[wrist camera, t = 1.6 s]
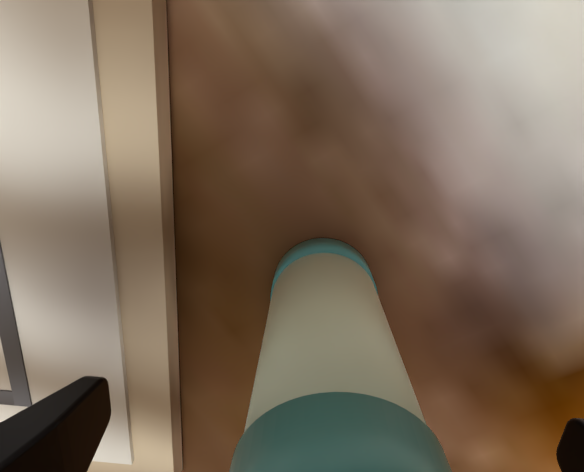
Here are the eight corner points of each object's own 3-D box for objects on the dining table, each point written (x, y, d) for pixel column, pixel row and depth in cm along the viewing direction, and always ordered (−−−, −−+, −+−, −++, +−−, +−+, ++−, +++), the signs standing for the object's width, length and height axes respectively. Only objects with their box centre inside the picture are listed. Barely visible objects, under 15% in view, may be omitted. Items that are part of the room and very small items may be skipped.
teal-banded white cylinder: (366, 331, 13) (475, 751, 4) (269, 323, 13) (196, 722, 5) (380, 240, 12) (560, 567, 3) (275, 232, 12) (190, 531, 3)
